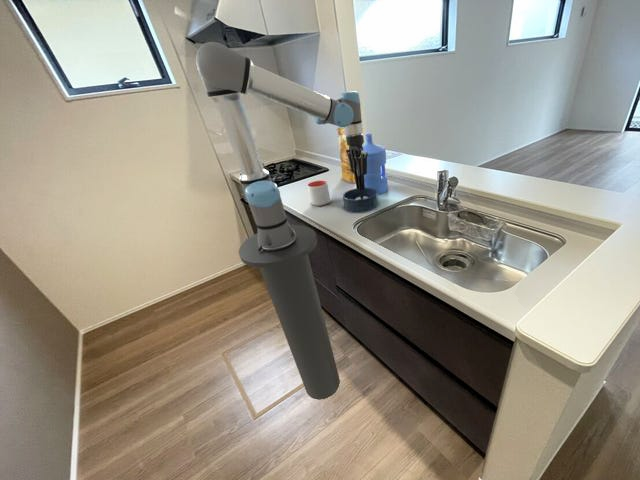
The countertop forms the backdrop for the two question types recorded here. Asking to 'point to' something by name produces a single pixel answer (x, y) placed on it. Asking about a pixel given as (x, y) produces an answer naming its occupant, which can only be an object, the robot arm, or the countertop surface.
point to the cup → (319, 193)
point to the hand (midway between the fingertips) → (360, 188)
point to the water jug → (375, 166)
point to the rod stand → (360, 191)
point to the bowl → (361, 204)
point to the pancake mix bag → (344, 157)
